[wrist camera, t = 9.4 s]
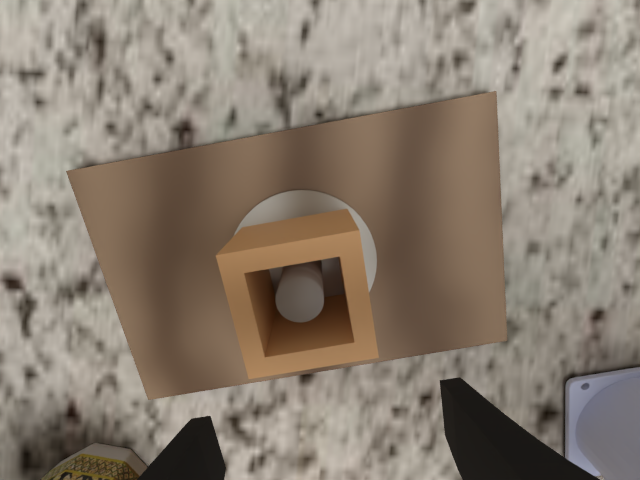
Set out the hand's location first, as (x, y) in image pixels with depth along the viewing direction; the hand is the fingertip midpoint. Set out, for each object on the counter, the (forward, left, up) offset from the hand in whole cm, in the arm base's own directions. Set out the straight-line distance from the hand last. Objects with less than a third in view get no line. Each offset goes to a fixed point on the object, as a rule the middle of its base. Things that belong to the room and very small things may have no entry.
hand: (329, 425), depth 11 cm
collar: (+1, -2, -9) cm, 9 cm away
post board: (+1, -2, -10) cm, 11 cm away
